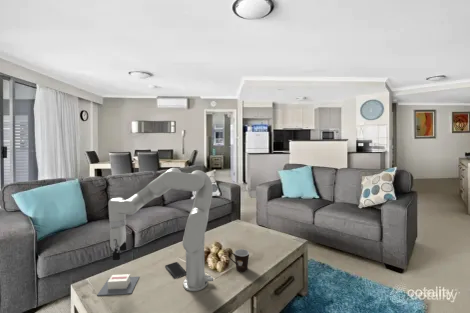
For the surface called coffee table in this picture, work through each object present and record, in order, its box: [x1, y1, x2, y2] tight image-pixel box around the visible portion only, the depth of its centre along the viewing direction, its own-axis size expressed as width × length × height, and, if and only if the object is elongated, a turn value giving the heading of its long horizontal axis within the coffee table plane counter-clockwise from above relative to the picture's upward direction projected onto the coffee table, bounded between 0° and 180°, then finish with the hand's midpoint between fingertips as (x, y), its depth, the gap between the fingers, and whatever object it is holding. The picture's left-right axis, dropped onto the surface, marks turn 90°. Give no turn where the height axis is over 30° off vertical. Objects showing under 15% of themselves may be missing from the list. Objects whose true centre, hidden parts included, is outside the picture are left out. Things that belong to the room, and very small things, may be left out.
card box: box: [108, 273, 131, 289], centre depth 128 cm, size 6×9×4 cm, turn 95°
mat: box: [97, 275, 140, 297], centre depth 128 cm, size 16×14×1 cm
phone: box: [164, 261, 186, 279], centre depth 143 cm, size 8×1×15 cm
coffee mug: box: [228, 248, 250, 273], centre depth 145 cm, size 12×9×10 cm
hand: (119, 254), depth 127 cm, fingers open, 9 cm apart
